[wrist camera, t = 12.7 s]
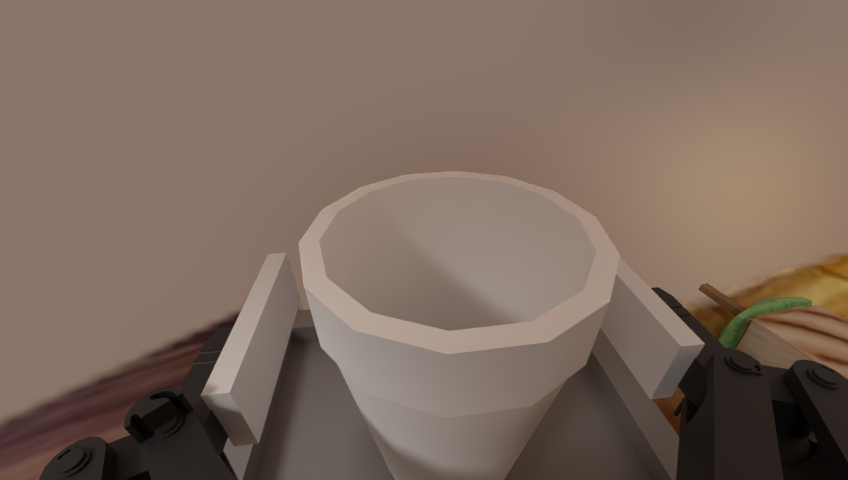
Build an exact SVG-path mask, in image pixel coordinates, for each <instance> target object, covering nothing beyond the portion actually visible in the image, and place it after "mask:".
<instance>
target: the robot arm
mask: <svg viewBox="0 0 848 480" xmlns="http://www.w3.org/2000/svg"><path fill="white" fill-rule="evenodd" d="M299 303H300V296H299V293H298V290H297V287H296V283H295V280H294V276H293V273H292V270H291V267H290V263H289V260H288V257H287V253H277V254H268V256H267V258H266V260H265V262H264V264H263V266H262V268H261V270H260V273H259V275H258V277H257V279H256V281H255V283H254V285H253V287H252V289H251V291H250V294H249V295H248V298H247V300H246V302H245V304H244V306H243V308H242V310H241V312H240V314H239V316H238V318H237V321H236V323H235V325H234V326H230V327H219V328H218V329H217V330H216V331H215V332H214V333H213V334H212V335H211V336H210V337H209V338H208V339H207V340H206V342H205V344H204V346H203V347H202V349H201V351H200V355H198V357H197V359H196V360H195V362H194V365H193V366H192V368H191V370H190V371H189V373H188V375H187V377H186V379H185V381H184V382H183V384H182V386H181V388H180V390H179V389H178V388H174V387H166V388H161V389H158V390H155V391H153V392H151V393H149V394H147V395H146V396H144V397H143V398H142V399H140V400H139V401H138V402H137V403H136V404H135V405H134V406H133V407H132V408H131V409H130V410H129V412H128V414H127V416H126V418H125V424H124V428H125V429H126V430H127V431H128V432H129V433H130V434H131V435H129V436H127V437H124V438H121V439H119V440H116V441H114V442H111V443H108V444H107V443H106V442H105V441H104V440H103V439H101V438H100V437H88V438H85V439H82V440H79V441H77V442H75V443H73V444H71V445H70V446H68V447H66V448H65V449H64V450H62V451H61V452H60V453H59V454H57V455H56V456H55V457H54V458H53V459H52V460H51V461H50V463H49V464H48V465H47V466H46V467H45V469H44V471H43V473H42V475H41V477H40V479H39V480H238V478H237V476H236V474H235V472H234V470H233V468H232V466H231V464H230V462H229V460H228V458H227V456H226V454H225V453H224V451H223V449H224V447H225V444H226V441H227V438H229V440H230V441H231V443H232V444H233V446H241V445H250V444H259V441H260V438H261V434H262V431H263V427H264V424H265V420H266V417H267V413H268V410H269V407H270V403H271V400H272V396H273V393H274V389H275V386H276V382H277V379H278V376H279V372H280V369H281V365H282V362H283V358H284V355H285V351H286V348H287V345H288V341H289V338H290V334H291V331H292V327H293V324H294V320H295V317H296V314H297V310H298V307H299ZM600 328H601V329H602V331H603V332H604V333H605V335H606V336H607V338H608V339H609V341H610V342H611V344H612V345H613V346H614V348H615V349H616V351H617V352H618V354H619V355H620V357H621V358H622V359H623V361H624V362H625V364H626V365H627V367H628V368H629V370H630V371H631V372H632V374H633V375H634V377H635V378H636V380H637V381H638V383H639V384H640V385H641V387H642V388H643V390H644V391H645V393H646V394H647V396H648V397H649V399H659V398H668V397H672V395H673V394H674V392H675V390H676V389H677V387H679V388H680V389H681V390H682V392H683V393H684V394H685V397H684V398H683V400H682V401H681V403H680V404H679V405H678V407H677V408H676V410H675V412H674V414H673V415H675V416H678V415H679V413H680V412H681V420H680V433H679V447H678V460H677V473H676V480H848V380H847V379H846V378H845V377H844V376H842V375H841V374H840V373H838V372H837V371H835V370H834V369H832V368H830V367H828V366H826V365H824V364H821V363H818V362H815V361H812V360H803V359H802V360H798V361H795V362H794V363H793V364H792V366H791V367H790V368H789V369H784V368H778V367H772V366H766V365H761V364H760V363H759V361H757V360H756V359H754V358H753V357H752V356H750V355H749V354H746V353H744V352H742V351H740V350H737V349H733V348H725V347H724V346H723V345H722V344H721V343H720V342H719V341H718V340H717V339H716V338H715V337H714V336H713V335H712V334H711V333H710V332H709V331H708V330H707V329H706V328H705V327H704V326H703V325H701V324H700V323H699V322H698V321H697V320H696V319H695V318H694V317H693V316H691V314H690V313H689V312H688V311H687V310H686V309H685V308H683V307H682V305H681V304H680V303H679V302H678V301H677V300H676V299H675V298H674V297H673V296H672V295H670V294H668V293H667V292H665V291H663V290H662V289H660V288H650V287H649V286H648V285H647V284H646V283H645V282H644V281H643V280H642V279H641V278H640V277H639V276H638V275H637V274H636V273H635V271H633V270H632V269H631V268H630V266H629V265H628V264H627V263H626V262H625V261H624V260H623V259H622V258H621V257H620V259H619V263H618V268H617V272H616V276H615V281H614V285H613V290H612V294H611V299H610V303H609V305H608V308H607V311H606V313H605V316H604V318H603V321H602V324H601V326H600ZM814 434H815V435H814Z"/></svg>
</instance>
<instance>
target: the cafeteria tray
mask: <svg viewBox="0 0 848 480" xmlns="http://www.w3.org/2000/svg"><path fill="white" fill-rule="evenodd" d="M678 447H679V436H678V434H677V433H676V431H675V430H674V429H673V427H672V426H671V424H670V423H669V421H668V420H667V419H666V417H665V416H664V414H663V413H662V411H661V410H660V409H659V407H658V406H657V404H656V403H655V401H654V400H653V399H649V397H648V396H647V394H646V393H645V391H644V390H643V388H642V387H641V385H640V384H639V383H638V381H637V380H636V378H635V377H634V375H633V374H632V372H631V371H630V370H629V368H628V367H627V365H626V364H625V362H624V361H623V359H622V358H621V357H620V355H619V354H618V352H617V351H616V349H615V348H614V346H613V345H612V344H611V342H610V341H609V339H608V338H607V336H606V335H605V333H604V332H603V331H602V329H601V328H600V329H599V332H598V334H597V337H596V339H595V342H594V345H593V347H592V350H591V353H590V355H589V358H588V360H587V363H586V365H585V366H584V367H582V368H581V369H580V370H578V371H577V372H576V373H574V374H573V375H572V376H570V377H569V378H568V379H567V380H566V382H565V383H564V385H563V386H562V388H561V390H560V391H559V393H558V394H557V396H556V398H555V399H554V401H553V402H552V404H551V406H550V407H549V409H548V410H547V412H546V413H545V415H544V417H543V418H542V420H541V421H540V423H539V425H538V426H537V428H536V429H535V431H534V433H533V434H532V436H531V437H530V439H529V441H528V442H527V444H526V445H525V447H524V449H523V450H522V452H521V453H520V455H519V457H518V458H517V460H516V461H515V463H514V464H513V466H512V468H511V469H510V471H509V472H508V474H507V476H506V477H505V479H504V480H676V473H677V460H678ZM223 451H224V453H225V454H226V456H227V458H228V460H229V462H230V464H231V466H232V468H233V470H234V472H235V474H236V476H237V478H238V480H395V479H394V478H393V475H392V474H391V472H390V470H389V468H388V466H387V464H386V462H385V460H384V458H383V456H382V454H381V452H380V450H379V448H378V446H377V444H376V442H375V440H374V438H373V436H372V434H371V432H370V430H369V428H368V426H367V424H366V422H365V420H364V418H363V416H362V414H361V412H360V409H359V407H358V405H357V403H356V401H355V399H354V397H353V395H352V393H351V391H350V389H349V387H348V385H347V383H346V381H345V379H344V377H343V375H342V373H341V371H340V369H339V367H338V365H337V363H336V362H335V361H334V360H333V359H332V358H331V357H330V356H329V355H328V354H327V353H326V352H325V351H324V350H323V349H322V348H321V346H320V343H319V339H318V335H317V332H316V328H315V325H314V321H313V318H312V314H311V311H310V310H302V311H297V314H296V317H295V320H294V324H293V327H292V331H291V334H290V338H289V341H288V345H287V348H286V351H285V355H284V358H283V362H282V365H281V369H280V372H279V376H278V379H277V382H276V386H275V389H274V393H273V396H272V400H271V403H270V407H269V410H268V413H267V417H266V420H265V424H264V427H263V431H262V434H261V438H260V441H259V444H250V445H241V446H233V444H232V443H231V441H230V440H229V438H227V441H226V444H225V447H224V449H223Z"/></svg>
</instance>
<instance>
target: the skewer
mask: <svg viewBox="0 0 848 480" xmlns="http://www.w3.org/2000/svg"><path fill="white" fill-rule="evenodd" d="M699 290H700V291H701V292H703V293H704V294H706V295H707V296H708V297H710V298H711V299H713V300H714V301H715V302H717V303H718V304H720V305H721V306H722V307H724V308H725V309H727V310H728V311H729V312H731V313H732V314H734V315H735V316H736V317H735V318H734V319H733V320H732V321H731V322H730V323H729V324H728V325H726V326H725V327H724V329H723V330H722V332H721V334H720V337H719V340H718V341H719V342H720V343H721V344H722V345H723V346H724V347H725V348H733V349H737V350H740V351H742V352H744V353H746V354H749V355H750V356H752V357H753V358H754V359H756V360H757V361H759V363H760V364H761V365H766V366H772V367H778V368H784V369H789V368H790V367H791V366H792V364H793V363H794V362H795V361H798V360H802V359H803V360H812V361H815V362H818V363H821V364H824V365H826V366H828V367H830V368H832V369H834V370H835V371H837V372H838V373H840V374H841V375H842V376H844V377H845V378H846V379H847V380H848V321H846V320H845V319H843V318H842V317H840V316H838V315H836V314H834V313H832V312H830V311H828V310H826V309H824V308H821V307H819V306H812V301H811V300H809V299H806V298H802V297H785V298H774V299H764V300H758V301H757V302H755V303H754V304H753V305H752V306H751V307H750V308H748V309H745V308H743V307H742V306H740V305H739V304H737V303H736V302H734V301H733V300H731V299H730V298H728V297H727V296H725V295H724V294H722V293H721V292H719V291H718V290H717V289H715V288H714V287H712V286H710V285H709V284H708V283H707V284H703V285H701V286H700V288H699Z"/></svg>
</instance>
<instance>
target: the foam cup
mask: <svg viewBox="0 0 848 480" xmlns="http://www.w3.org/2000/svg"><path fill="white" fill-rule="evenodd" d="M299 249H300V258H301V267H302V277H303V286H304V289H305V293H306V297H307V300H308V303H309V307H310V311H311V314H312V318H313V321H314V325H315V328H316V332H317V335H318V339H319V343H320V346H321V348H322V349H323V350H324V351H325V352H326V353H327V354H328V355H329V356H330V357H331V358H332V359H333V360H334V361H335V362H336V363H337V365H338V367H339V369H340V371H341V373H342V375H343V377H344V379H345V381H346V383H347V385H348V387H349V389H350V391H351V393H352V395H353V397H354V399H355V401H356V403H357V405H358V407H359V409H360V412H361V414H362V416H363V418H364V420H365V422H366V424H367V426H368V428H369V430H370V432H371V434H372V436H373V438H374V440H375V442H376V444H377V446H378V448H379V450H380V452H381V454H382V456H383V458H384V460H385V462H386V464H387V466H388V468H389V470H390V472H391V474H392V475H393V478H394V479H395V480H504V479H505V477H506V476H507V474H508V472H509V471H510V469H511V468H512V466H513V464H514V463H515V461H516V460H517V458H518V457H519V455H520V453H521V452H522V450H523V449H524V447H525V445H526V444H527V442H528V441H529V439H530V437H531V436H532V434H533V433H534V431H535V429H536V428H537V426H538V425H539V423H540V421H541V420H542V418H543V417H544V415H545V413H546V412H547V410H548V409H549V407H550V406H551V404H552V402H553V401H554V399H555V398H556V396H557V394H558V393H559V391H560V390H561V388H562V386H563V385H564V383H565V382H566V380H567V379H568V378H569V377H570V376H572V375H573V374H574V373H576V372H577V371H578V370H580V369H581V368H582V367H584V366H585V365H586V363H587V360H588V358H589V355H590V353H591V350H592V347H593V345H594V342H595V339H596V337H597V334H598V332H599V329H600V326H601V324H602V321H603V318H604V316H605V313H606V311H607V308H608V305H609V303H610V299H611V294H612V290H613V285H614V281H615V276H616V272H617V268H618V263H619V259H620V254H619V252H618V251H617V249H616V247H615V246H614V244H613V243H612V241H611V240H610V238H609V237H608V235H607V233H606V232H605V230H604V229H603V227H602V226H601V224H600V223H599V221H598V220H597V218H596V217H595V216H593V215H592V214H590V213H589V212H587V211H585V210H584V209H582V208H580V207H579V206H577V205H576V204H574V203H573V202H571V201H569V200H568V199H566V198H565V197H563V196H561V195H560V194H558V193H557V192H555V191H552V190H549V189H546V188H543V187H539V186H536V185H533V184H530V183H526V182H523V181H520V180H516V179H513V178H510V177H507V176H498V175H489V174H479V173H470V172H461V171H450V172H435V173H421V174H407V175H403V176H399V177H396V178H392V179H389V180H385V181H381V182H377V183H374V184H370V185H366V186H363V187H360V188H358V189H357V190H355V191H353V192H351V193H350V194H348V195H346V196H345V197H343V198H341V199H339V200H338V201H336V202H334V203H332V204H331V205H329V206H327V207H326V208H324V209H322V211H321V212H320V213H319V215H318V216H317V218H316V219H315V221H314V222H313V223H312V225H311V226H310V227H309V229H308V231H307V232H306V233H305V235H304V236H303V237H302V239H301V240H300V241H299Z"/></svg>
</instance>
